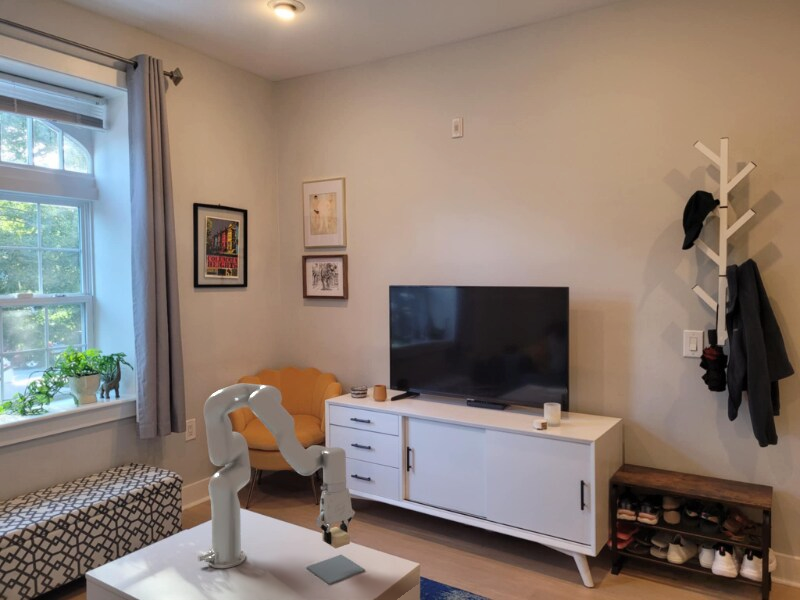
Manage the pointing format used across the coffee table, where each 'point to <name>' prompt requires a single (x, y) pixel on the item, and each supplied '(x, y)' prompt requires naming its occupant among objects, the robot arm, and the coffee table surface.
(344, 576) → the mat
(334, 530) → the light brown rectangular block
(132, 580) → the coffee table surface
